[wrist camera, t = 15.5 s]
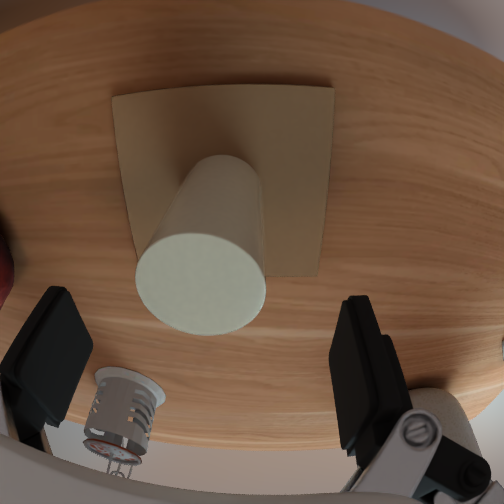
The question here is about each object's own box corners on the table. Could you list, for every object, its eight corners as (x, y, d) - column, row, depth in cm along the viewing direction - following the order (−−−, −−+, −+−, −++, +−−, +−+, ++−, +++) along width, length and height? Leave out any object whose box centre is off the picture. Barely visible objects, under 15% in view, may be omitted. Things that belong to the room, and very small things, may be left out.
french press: (161, 374, 33) (124, 582, 12) (170, 417, 39) (148, 576, 18) (85, 359, 32) (27, 544, 11) (107, 405, 39) (72, 553, 18)
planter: (473, 369, 34) (508, 454, 21) (415, 426, 43) (433, 498, 30) (382, 373, 33) (412, 489, 20) (330, 433, 42) (341, 520, 29)
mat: (114, 95, 17) (110, 96, 17) (333, 87, 17) (335, 87, 16) (143, 270, 25) (141, 275, 24) (316, 272, 25) (317, 276, 24)
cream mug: (180, 155, 19) (122, 233, 11) (262, 154, 19) (267, 232, 11) (190, 249, 23) (158, 357, 14) (261, 249, 23) (263, 362, 14)
